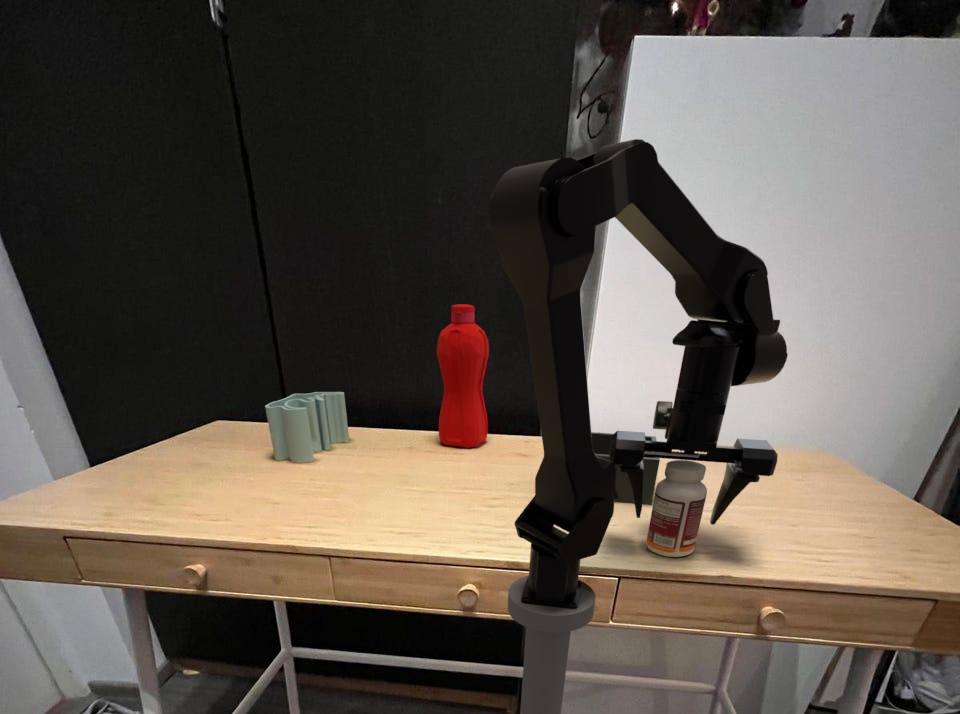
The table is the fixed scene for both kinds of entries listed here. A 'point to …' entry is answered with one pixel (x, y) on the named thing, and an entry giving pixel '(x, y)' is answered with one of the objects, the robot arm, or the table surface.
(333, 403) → the squiggly pen holder
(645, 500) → the waste bin
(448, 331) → the water bottle
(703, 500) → the pill bottle
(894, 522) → the table surface
